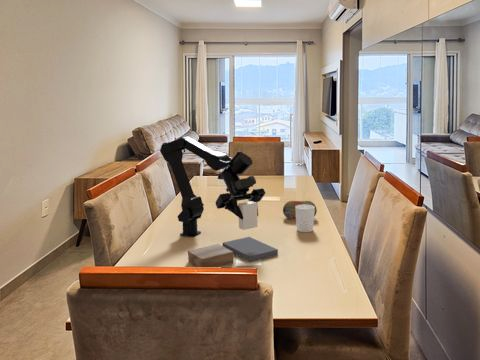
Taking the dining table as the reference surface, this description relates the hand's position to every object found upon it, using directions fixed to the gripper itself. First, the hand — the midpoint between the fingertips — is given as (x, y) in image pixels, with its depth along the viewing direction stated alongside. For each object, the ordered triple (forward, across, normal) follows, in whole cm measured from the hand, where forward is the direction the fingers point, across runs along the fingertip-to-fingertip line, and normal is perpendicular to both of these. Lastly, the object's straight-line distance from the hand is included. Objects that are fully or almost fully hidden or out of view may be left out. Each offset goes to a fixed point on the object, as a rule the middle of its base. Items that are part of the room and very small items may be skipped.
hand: (250, 217), depth 162 cm
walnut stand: (+9, -16, +9) cm, 21 cm away
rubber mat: (+8, 0, +10) cm, 13 cm away
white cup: (+3, +34, +16) cm, 37 cm away
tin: (-8, +43, +27) cm, 51 cm away
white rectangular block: (+2, 0, +4) cm, 4 cm away
